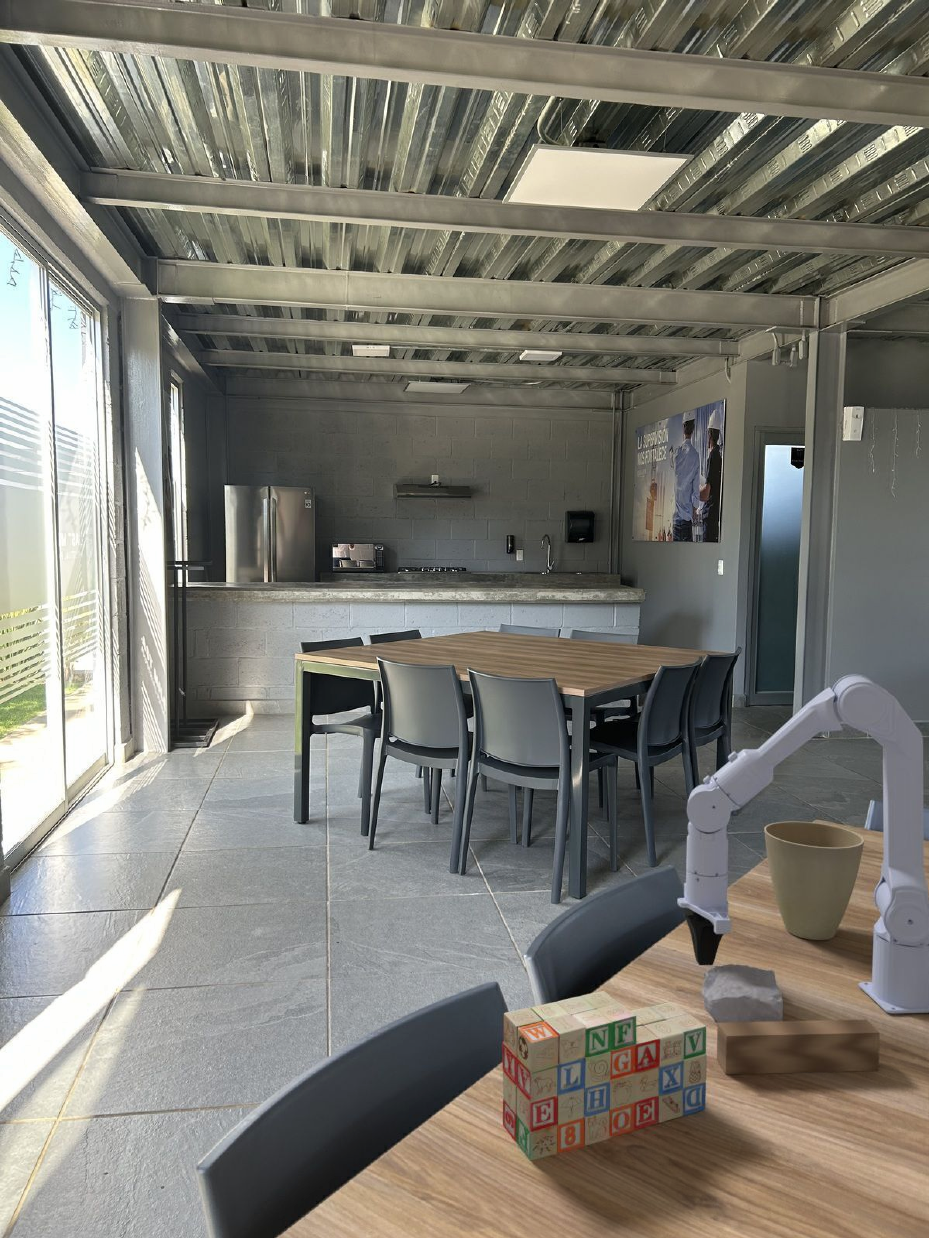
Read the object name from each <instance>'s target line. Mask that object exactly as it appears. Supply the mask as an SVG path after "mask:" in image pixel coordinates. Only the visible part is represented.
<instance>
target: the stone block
mask: <svg viewBox="0 0 929 1238" xmlns="http://www.w3.org/2000/svg"><path fill="white" fill-rule="evenodd" d="M701 989H702V990H701V995H702V998H703V1003H704V1008H705V1009H706V1012H707V1013H708V1014H709V1015H710V1016H711V1018H712V1019H713V1020H714V1021H715V1022H716V1023H717V1024H718V1023H725V1022H773V1021H784V1020H783V1018H784V1000H783V997H782V996H783V995H782V991H781V990H780V987H779V986H778V984H777V980H776V973H775V971H774V970H773V969H769V970H766V969H761V968H758V967H755V966H749V965H744V964H732V963H731V964H724V965H721V966H720V965H717V966H715V967H710V968H709V969H707V970H706V972H705V977H704V980H703V982H702V987H701Z"/></svg>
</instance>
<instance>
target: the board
mask: <svg viewBox="0 0 929 1238" xmlns="http://www.w3.org/2000/svg"><path fill="white" fill-rule="evenodd" d="M880 1034H881V1033H880V1031H878V1030H877V1029H876V1027H875V1026H873V1025H872V1024H871V1023H870V1021H868V1019H841V1020H840V1019H835V1020H834V1019H831V1020H830V1019H828V1020H825V1019H824V1020H823V1019H822V1020H783V1021H773V1022H725V1023H718V1022H717V1033H716V1061H717V1062H718V1065H719V1066H720V1068H721V1069H722V1071H723V1072H724V1074H725V1075H747V1074H748V1075H749V1074H750V1075H751V1074H752V1075H754V1074H755V1075H757V1074H791V1073H792V1074H793V1073H794V1074H795V1073H831V1072H835V1073H836V1072H868V1071H869V1072H870V1071H871V1072H873V1071H877V1072H878V1071H879V1065H880V1064H879V1062H880V1061H879V1059H880V1036H881V1035H880Z"/></svg>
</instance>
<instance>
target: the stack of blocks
mask: <svg viewBox="0 0 929 1238" xmlns="http://www.w3.org/2000/svg"><path fill="white" fill-rule="evenodd" d="M501 1045H502V1049H501V1052H502V1053H501V1054H502V1059H501V1061H502V1066H501V1068H502V1095H503V1096H502V1097H503V1098H502V1126H503V1128H504V1129H505V1130H506V1131H507V1133H508V1134H509V1135H510V1136H511V1138H512V1139H513V1140H514V1142H515V1143H516V1144H517V1145H518V1146H519V1148H520V1149H521V1150H522V1152H523V1153H524V1154H525V1156H526V1157H527V1158H528V1161H534V1160H538V1159H542V1158H545V1157H548V1156H549V1157H550V1156H553V1155H557V1154H562V1153H564V1152H569V1151H572V1150H575V1149H578V1148H582V1147H583V1148H584V1147H585V1146H588V1145H592V1144H596V1143H599V1142H602V1141H605V1140H609V1139H610V1138H615V1137H617V1136H619V1135H624V1134H627V1133H630V1132H633V1131H635V1130H639V1129H642V1128H643V1129H644V1128H646V1127H649V1126H653V1125H655V1124H657V1123H659V1124H660V1123H663V1122H667V1121H670V1120H674V1119H677V1118H682V1117H683V1116H688V1115H691V1114H694V1113H698V1112H702V1111H704V1110H706V1098H707V1097H706V1096H707V1095H706V1094H707V1091H706V1090H707V1072H708V1071H707V1068H708V1067H707V1065H708V1062H707V1060H708V1058H707V1057H708V1056H707V1025H705V1024H704V1023H702V1022H701V1021H699V1020H698V1019H697V1018H695V1017H694V1016H693V1015H692V1014H690V1013H687V1012H686V1011H685V1010H684V1009H682V1008H681V1007H679V1006H678V1005H677V1004H675V1003H674V1002H672V1001H668V1002H664V1003H659V1004H656V1005H651V1006H645V1007H641V1008H640V1007H639V1008H637V1009H633V1010H630V1009H628V1008H627V1007H626V1006H624V1005H623V1004H622V1003H620V1002H619V1001H617V1000H616V999H615V998H614V997H612V996H611V995H610V994H608V993H607V992H606V991H605V990H600V991H596V992H591V993H587V994H583V995H580V996H574V997H570V998H567V999H566V998H565V999H562V1000H558V1001H554V1002H548V1003H544V1004H541V1005H537V1006H532V1007H526V1008H525V1007H524V1008H520V1009H516V1010H512V1011H506V1012H504V1013H503V1042H502V1044H501Z"/></svg>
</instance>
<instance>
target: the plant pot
mask: <svg viewBox="0 0 929 1238" xmlns="http://www.w3.org/2000/svg"><path fill="white" fill-rule="evenodd" d="M763 829H764V831H763V832H764V841H765V850H766V857H767V863H768V868H769V869H768V870H769V875H770V879H771V884H772V888H773V892H774V896H775V900H776V902H777V906H778V910H779V913H780V917H781V918H782V922H783V925H784V927H785V930H786V931H787V932H788V933H790V934H791V935H794V936H796V937H799V938H803V939H806V940H812V941H826V940H827V941H828V940H830V939H832V938H834V937H835V935H836V933H837V931H838V929H839V927H840V924H841V922H842V920H843V919H844V915H845V913H846V911H847V908H848V905H849V903H850V900H851V897H852V894H853V892H854V891H853V890H854V888H855V885H856V882H857V881H856V880H857V877H858V873H859V869H860V864H861V859H862V856H863V849H864V844H865V839H864V837H863V836H862V835H861V834H859V833H857V832H855V831H852V830H850V829H847V828H843V827H841V826H837V825H831V824H827V823H819V822H810V821H792V820H791V821H780V822H773V823H769V824H767V825H766V826H764V828H763Z"/></svg>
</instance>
